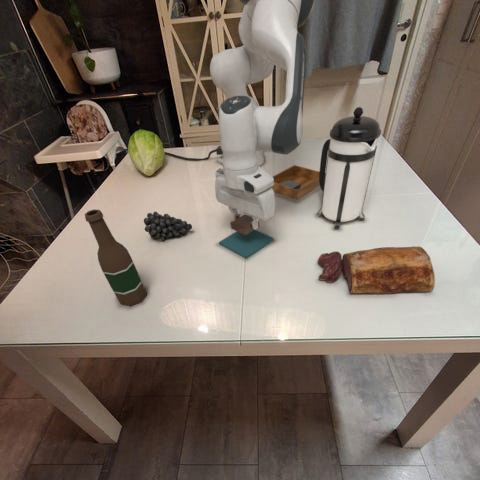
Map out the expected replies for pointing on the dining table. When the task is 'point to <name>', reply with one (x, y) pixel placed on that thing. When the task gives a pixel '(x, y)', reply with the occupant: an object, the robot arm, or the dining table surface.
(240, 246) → the mat
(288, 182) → the slate coaster
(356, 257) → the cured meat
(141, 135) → the lettuce
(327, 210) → the coffee press
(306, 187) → the wooden tray
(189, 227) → the fruit
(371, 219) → the dining table surface
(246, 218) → the walnut coaster
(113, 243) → the beer bottle
